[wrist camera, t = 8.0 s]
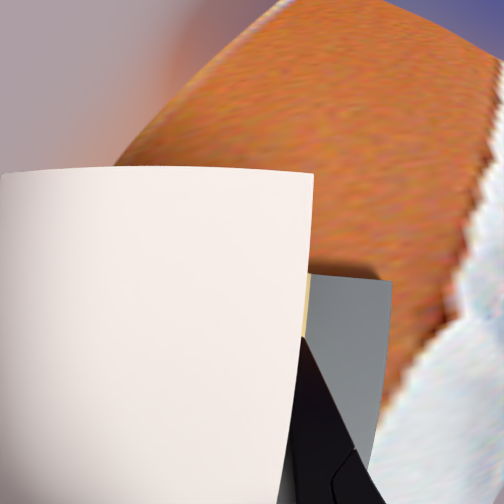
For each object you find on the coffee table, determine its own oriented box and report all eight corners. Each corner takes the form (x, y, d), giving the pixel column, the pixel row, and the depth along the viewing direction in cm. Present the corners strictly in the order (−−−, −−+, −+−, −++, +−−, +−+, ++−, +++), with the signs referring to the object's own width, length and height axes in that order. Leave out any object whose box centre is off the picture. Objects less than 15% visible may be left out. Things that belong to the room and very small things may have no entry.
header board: (340, 537, 12) (351, 576, 8) (106, 496, 14) (74, 521, 10) (385, 284, 16) (413, 270, 12) (125, 258, 17) (88, 239, 13)
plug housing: (271, 437, 13) (239, 651, 1) (183, 423, 13) (-5, 550, 2) (289, 302, 15) (313, 173, 3) (198, 292, 15) (1, 173, 3)
